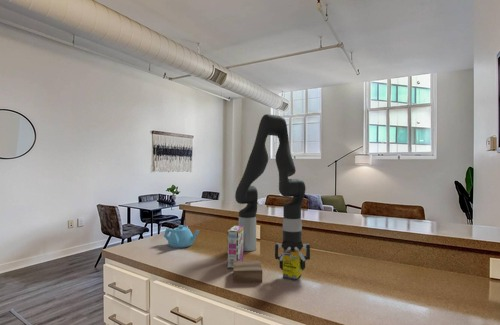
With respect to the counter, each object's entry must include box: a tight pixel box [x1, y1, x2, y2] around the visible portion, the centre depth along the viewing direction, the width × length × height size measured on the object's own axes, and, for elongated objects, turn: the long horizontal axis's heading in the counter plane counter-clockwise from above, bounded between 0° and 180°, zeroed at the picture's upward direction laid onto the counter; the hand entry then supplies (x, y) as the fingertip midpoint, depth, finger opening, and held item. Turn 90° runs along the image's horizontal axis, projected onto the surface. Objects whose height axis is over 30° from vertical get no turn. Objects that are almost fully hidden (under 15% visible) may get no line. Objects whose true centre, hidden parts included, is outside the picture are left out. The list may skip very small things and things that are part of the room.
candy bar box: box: [226, 225, 244, 270], centre depth 131 cm, size 11×5×16 cm, turn 168°
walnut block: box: [233, 260, 263, 284], centre depth 117 cm, size 11×11×5 cm
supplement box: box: [282, 248, 303, 281], centre depth 117 cm, size 6×6×11 cm
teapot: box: [163, 224, 200, 249], centre depth 162 cm, size 15×15×11 cm
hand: (292, 269), depth 117 cm, fingers closed on supplement box, 7 cm apart
